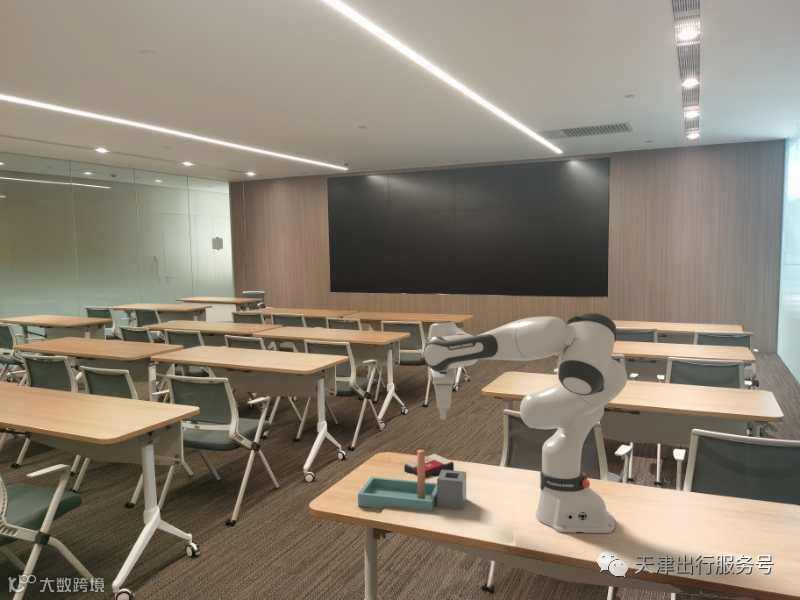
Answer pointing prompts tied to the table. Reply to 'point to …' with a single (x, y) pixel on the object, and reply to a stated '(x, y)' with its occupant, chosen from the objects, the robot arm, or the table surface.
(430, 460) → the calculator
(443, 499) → the grey pencil holder
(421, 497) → the dowel pin
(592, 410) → the robot arm
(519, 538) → the table surface
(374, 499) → the tray
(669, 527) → the table surface
